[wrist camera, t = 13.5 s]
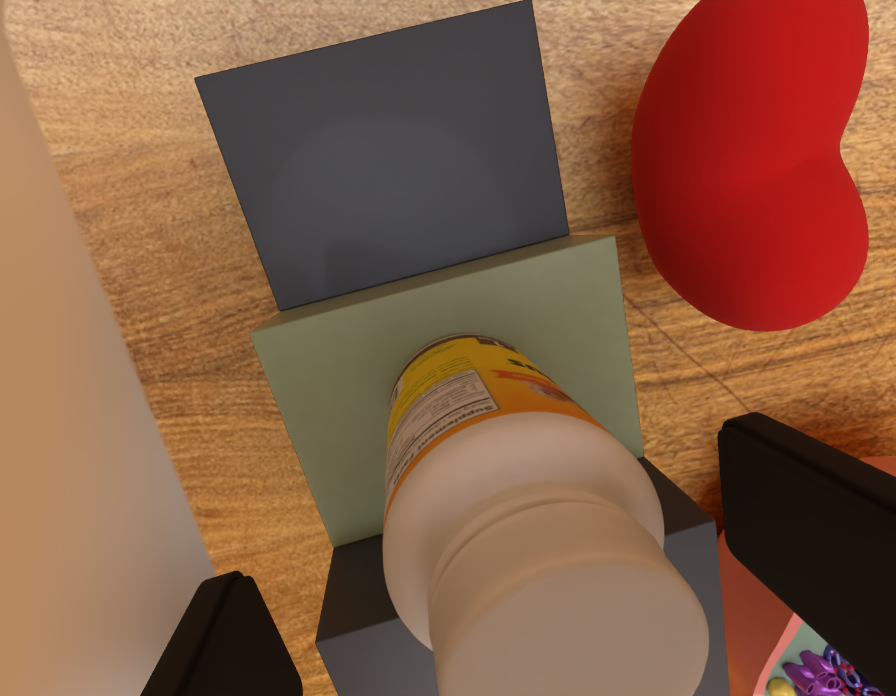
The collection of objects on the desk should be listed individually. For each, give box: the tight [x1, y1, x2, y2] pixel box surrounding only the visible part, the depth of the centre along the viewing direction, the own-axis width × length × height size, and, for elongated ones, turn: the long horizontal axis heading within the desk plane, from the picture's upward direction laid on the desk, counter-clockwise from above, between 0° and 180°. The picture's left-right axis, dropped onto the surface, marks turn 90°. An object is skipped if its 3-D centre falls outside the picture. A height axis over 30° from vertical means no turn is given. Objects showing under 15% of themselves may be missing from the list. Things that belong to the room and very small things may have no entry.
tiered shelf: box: [194, 0, 730, 696], centre depth 17 cm, size 13×27×11 cm, turn 14°
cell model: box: [717, 456, 896, 696], centre depth 23 cm, size 17×20×11 cm
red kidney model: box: [631, 0, 869, 331], centre depth 17 cm, size 12×5×10 cm, turn 16°
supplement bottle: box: [383, 334, 709, 696], centre depth 11 cm, size 6×6×10 cm
